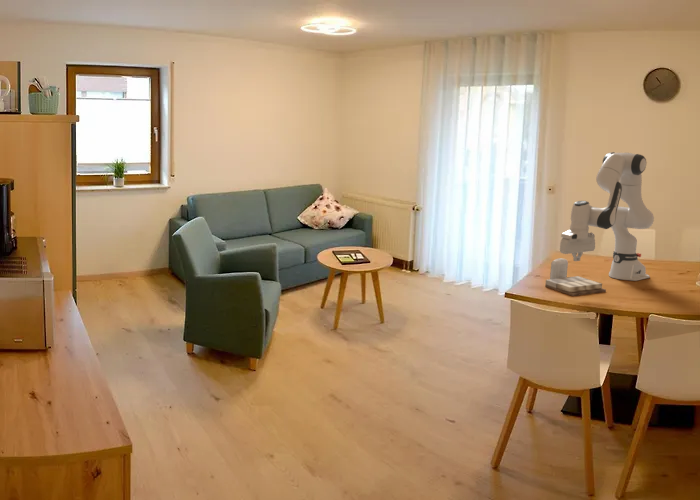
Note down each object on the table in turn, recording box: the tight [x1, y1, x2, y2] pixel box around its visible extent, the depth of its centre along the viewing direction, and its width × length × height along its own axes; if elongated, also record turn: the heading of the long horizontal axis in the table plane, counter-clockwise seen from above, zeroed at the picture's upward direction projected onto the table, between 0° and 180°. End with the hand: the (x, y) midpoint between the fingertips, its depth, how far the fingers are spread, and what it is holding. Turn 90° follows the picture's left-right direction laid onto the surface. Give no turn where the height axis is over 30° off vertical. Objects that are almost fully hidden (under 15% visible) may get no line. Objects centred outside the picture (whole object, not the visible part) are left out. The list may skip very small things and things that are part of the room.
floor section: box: [544, 275, 607, 297], centre depth 357 cm, size 22×20×4 cm
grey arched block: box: [549, 257, 569, 279], centre depth 372 cm, size 10×4×12 cm, turn 123°
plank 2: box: [574, 279, 603, 290], centre depth 356 cm, size 11×9×2 cm
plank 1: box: [557, 282, 586, 292], centre depth 351 cm, size 11×9×2 cm
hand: (576, 260), depth 347 cm, fingers closed
